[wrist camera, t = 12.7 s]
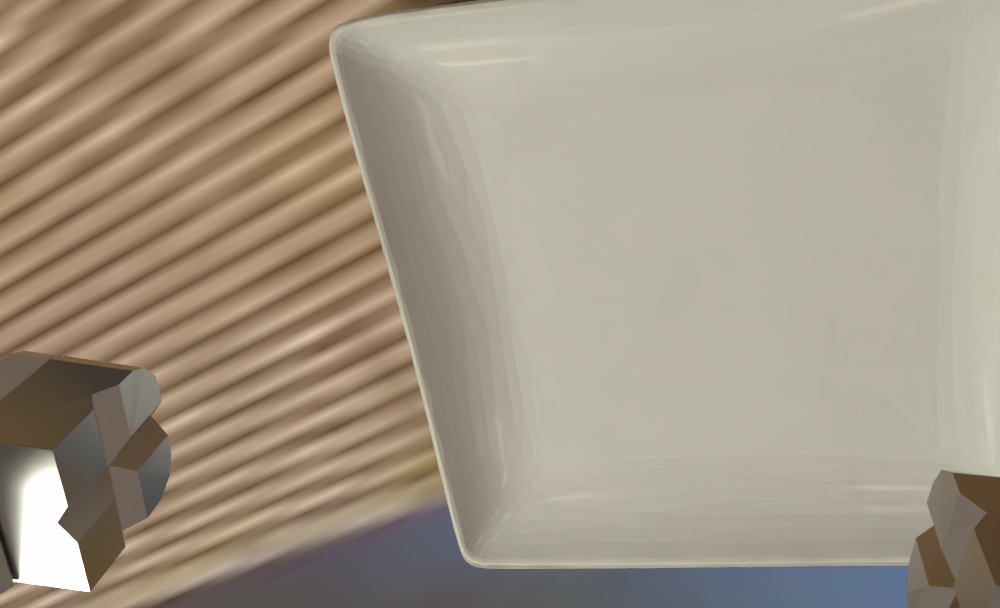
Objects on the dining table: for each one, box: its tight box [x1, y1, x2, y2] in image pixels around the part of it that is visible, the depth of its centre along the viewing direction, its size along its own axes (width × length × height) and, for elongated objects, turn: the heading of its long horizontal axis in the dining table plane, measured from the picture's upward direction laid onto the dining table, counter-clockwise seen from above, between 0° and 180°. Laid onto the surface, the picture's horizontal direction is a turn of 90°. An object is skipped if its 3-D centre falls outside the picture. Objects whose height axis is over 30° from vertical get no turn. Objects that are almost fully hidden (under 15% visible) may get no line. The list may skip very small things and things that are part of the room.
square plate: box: [329, 0, 1000, 569], centre depth 39 cm, size 27×27×4 cm
